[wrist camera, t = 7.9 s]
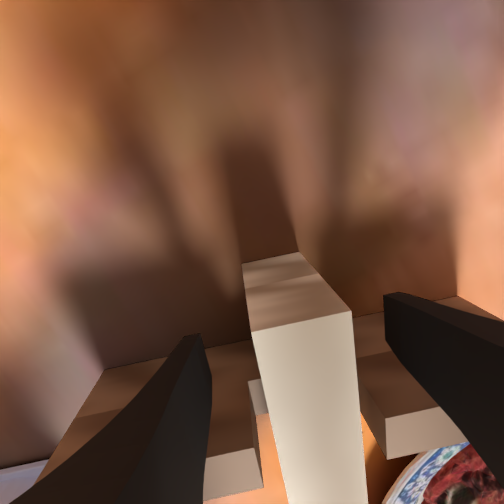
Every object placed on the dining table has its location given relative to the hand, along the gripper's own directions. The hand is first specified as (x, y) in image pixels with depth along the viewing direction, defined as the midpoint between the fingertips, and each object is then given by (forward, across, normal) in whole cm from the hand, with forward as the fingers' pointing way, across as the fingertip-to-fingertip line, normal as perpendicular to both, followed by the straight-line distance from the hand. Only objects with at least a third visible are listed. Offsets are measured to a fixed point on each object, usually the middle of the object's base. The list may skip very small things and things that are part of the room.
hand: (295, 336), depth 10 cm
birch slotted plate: (+4, 0, +3) cm, 5 cm away
